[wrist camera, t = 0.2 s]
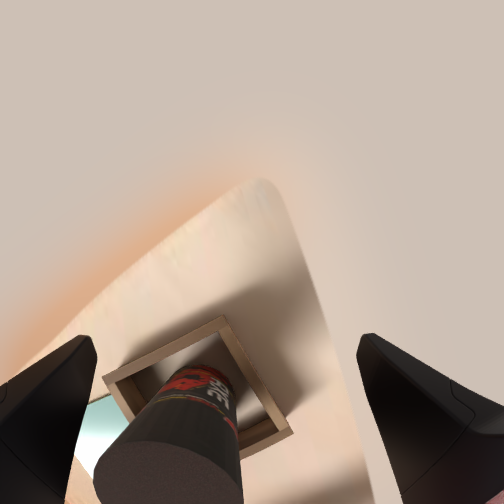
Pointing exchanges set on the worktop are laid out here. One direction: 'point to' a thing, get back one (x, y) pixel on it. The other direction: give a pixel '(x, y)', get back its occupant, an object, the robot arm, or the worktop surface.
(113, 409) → the coaster
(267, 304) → the worktop surface
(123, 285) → the worktop surface
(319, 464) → the worktop surface
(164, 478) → the deodorant
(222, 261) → the worktop surface
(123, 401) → the tub
